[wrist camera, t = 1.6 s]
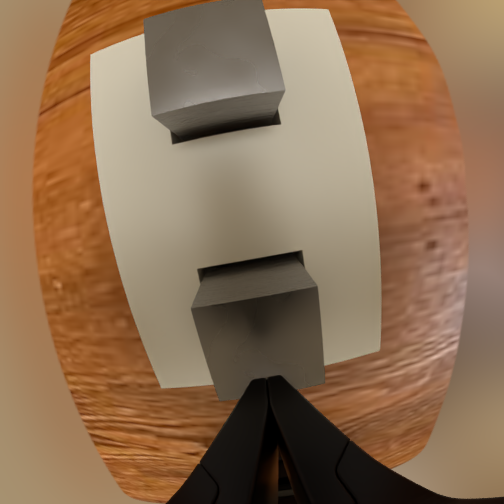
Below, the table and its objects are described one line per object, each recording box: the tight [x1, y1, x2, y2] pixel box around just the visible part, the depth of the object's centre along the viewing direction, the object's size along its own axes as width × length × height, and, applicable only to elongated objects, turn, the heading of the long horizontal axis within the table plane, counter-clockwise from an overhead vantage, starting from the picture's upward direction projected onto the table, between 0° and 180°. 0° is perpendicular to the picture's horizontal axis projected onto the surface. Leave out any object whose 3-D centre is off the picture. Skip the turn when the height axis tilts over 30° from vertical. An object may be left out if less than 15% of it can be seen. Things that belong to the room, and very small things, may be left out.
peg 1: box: [144, 0, 286, 142], centre depth 9 cm, size 4×4×5 cm
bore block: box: [90, 9, 381, 388], centre depth 14 cm, size 18×12×5 cm, turn 10°
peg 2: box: [191, 252, 325, 401], centre depth 11 cm, size 4×4×5 cm
